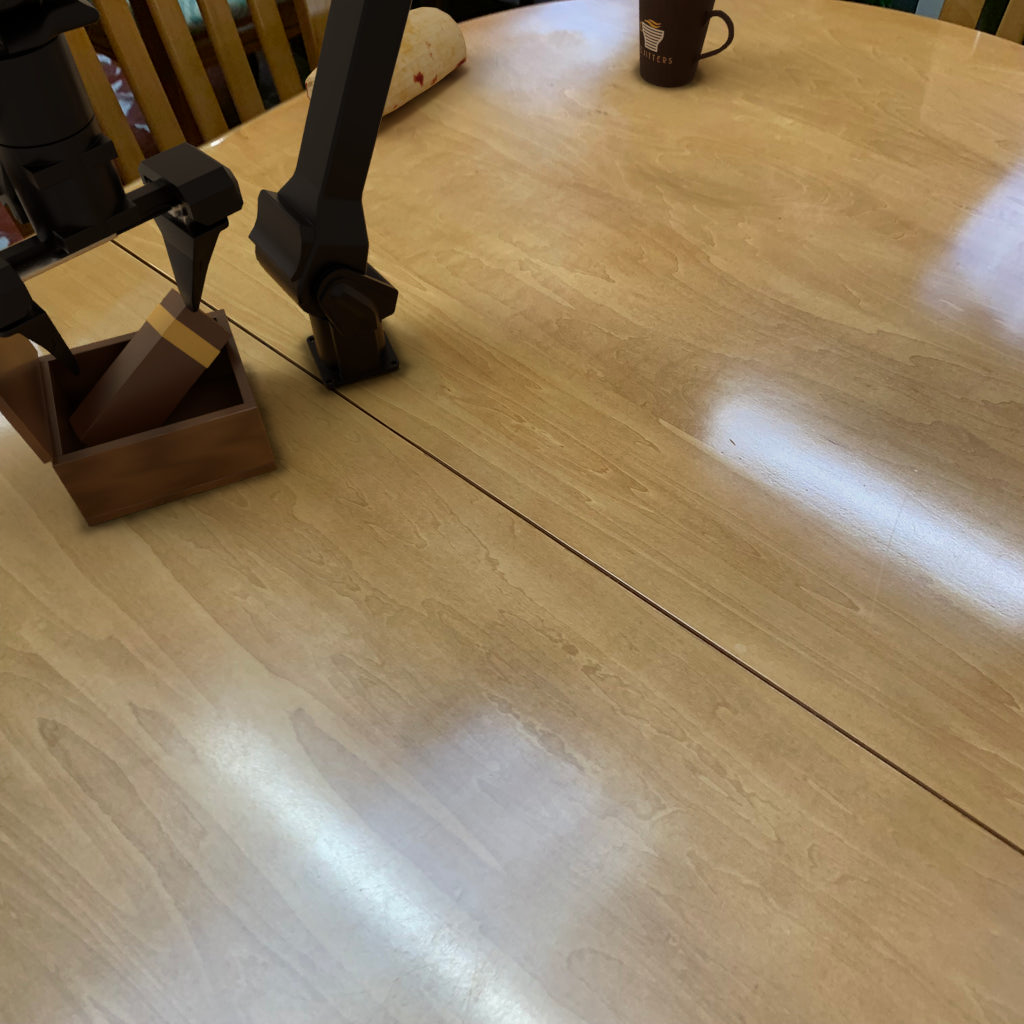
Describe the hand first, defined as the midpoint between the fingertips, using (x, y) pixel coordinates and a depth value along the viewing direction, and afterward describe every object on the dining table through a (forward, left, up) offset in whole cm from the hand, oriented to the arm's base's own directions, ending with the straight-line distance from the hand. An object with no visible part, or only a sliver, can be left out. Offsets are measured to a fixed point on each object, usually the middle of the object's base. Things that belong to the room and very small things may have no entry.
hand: (135, 339), depth 63 cm
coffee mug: (+35, -62, -11) cm, 72 cm away
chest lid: (+1, +8, +3) cm, 9 cm away
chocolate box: (0, +5, -8) cm, 10 cm away
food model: (+39, -23, -8) cm, 46 cm away
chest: (+1, +1, -11) cm, 11 cm away
